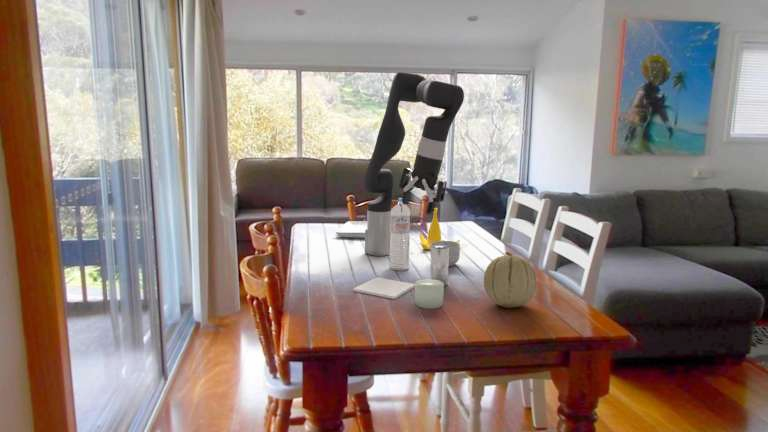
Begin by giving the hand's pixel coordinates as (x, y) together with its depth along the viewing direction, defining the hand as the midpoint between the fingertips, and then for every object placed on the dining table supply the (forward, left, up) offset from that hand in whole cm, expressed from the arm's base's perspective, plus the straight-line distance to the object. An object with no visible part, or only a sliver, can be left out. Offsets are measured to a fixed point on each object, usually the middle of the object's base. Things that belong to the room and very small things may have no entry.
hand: (416, 209), depth 148 cm
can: (+2, +14, -26) cm, 30 cm away
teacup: (-6, +38, -26) cm, 47 cm away
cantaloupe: (+27, +5, -26) cm, 38 cm away
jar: (+7, -5, -26) cm, 27 cm away
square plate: (-56, +69, -27) cm, 93 cm away
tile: (-10, 0, -26) cm, 28 cm away
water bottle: (-17, +23, -26) cm, 39 cm away
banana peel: (-18, +62, -26) cm, 70 cm away
